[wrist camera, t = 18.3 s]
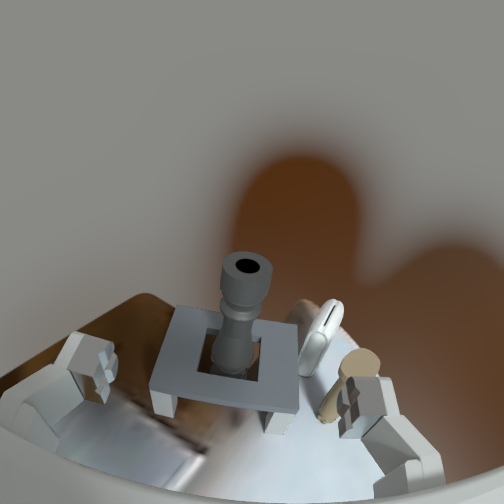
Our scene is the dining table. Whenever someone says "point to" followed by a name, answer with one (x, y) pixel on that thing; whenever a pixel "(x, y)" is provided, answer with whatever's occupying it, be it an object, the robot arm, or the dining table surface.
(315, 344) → the photo printer
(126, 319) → the dining table surface
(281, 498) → the dining table surface
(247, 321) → the candle holder
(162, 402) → the hole stand
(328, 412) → the handle
